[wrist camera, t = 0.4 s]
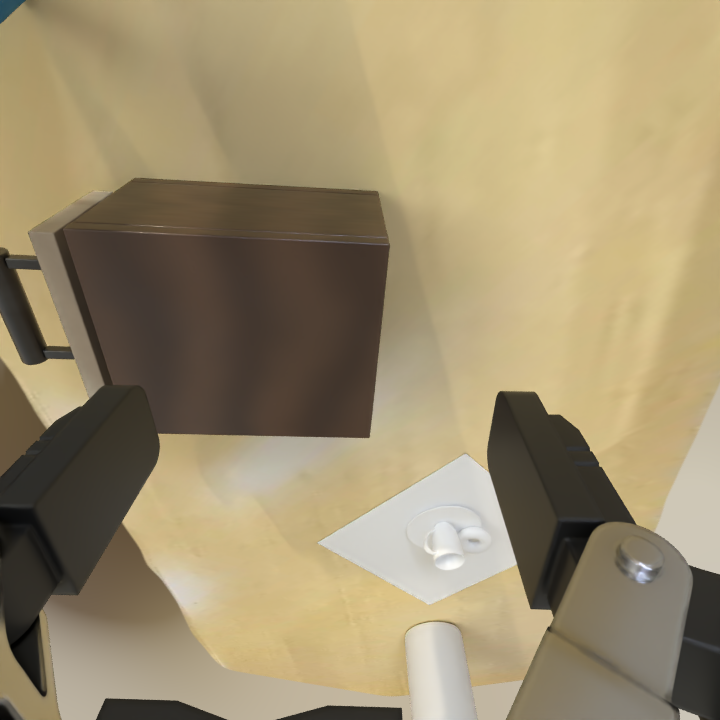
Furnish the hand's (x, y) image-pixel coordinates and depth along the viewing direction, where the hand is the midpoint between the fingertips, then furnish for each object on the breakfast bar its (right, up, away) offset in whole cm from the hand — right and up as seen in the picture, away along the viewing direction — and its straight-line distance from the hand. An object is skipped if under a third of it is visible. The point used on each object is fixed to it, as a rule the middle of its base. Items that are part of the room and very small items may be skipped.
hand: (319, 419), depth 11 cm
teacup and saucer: (+10, -19, +40) cm, 46 cm away
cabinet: (-6, +7, +21) cm, 23 cm away
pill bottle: (+11, -37, +53) cm, 66 cm away
